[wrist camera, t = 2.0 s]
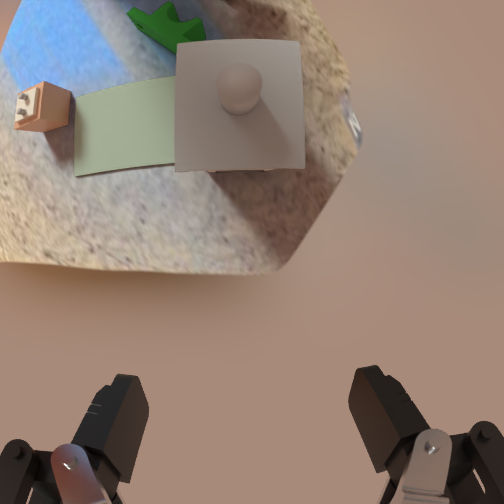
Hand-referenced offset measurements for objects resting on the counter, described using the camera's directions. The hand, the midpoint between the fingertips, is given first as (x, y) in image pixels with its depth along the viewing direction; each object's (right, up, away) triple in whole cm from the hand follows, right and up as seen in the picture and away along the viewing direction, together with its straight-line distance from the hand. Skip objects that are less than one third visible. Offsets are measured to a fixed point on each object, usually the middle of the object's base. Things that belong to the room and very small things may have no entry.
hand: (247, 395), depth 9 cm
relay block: (-24, +23, +15) cm, 36 cm away
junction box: (-1, +17, +17) cm, 25 cm away
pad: (-14, +19, +16) cm, 29 cm away
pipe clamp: (-8, +29, +14) cm, 33 cm away
